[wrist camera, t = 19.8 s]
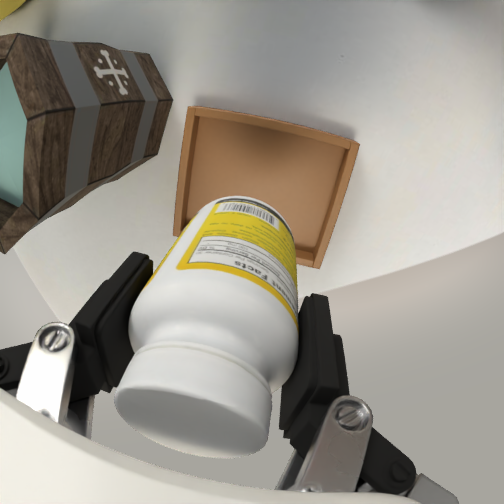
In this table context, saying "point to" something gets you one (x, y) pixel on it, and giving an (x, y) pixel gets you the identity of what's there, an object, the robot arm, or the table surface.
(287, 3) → the table surface
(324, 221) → the oak tray
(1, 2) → the vase
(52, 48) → the mug
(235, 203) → the supplement bottle
